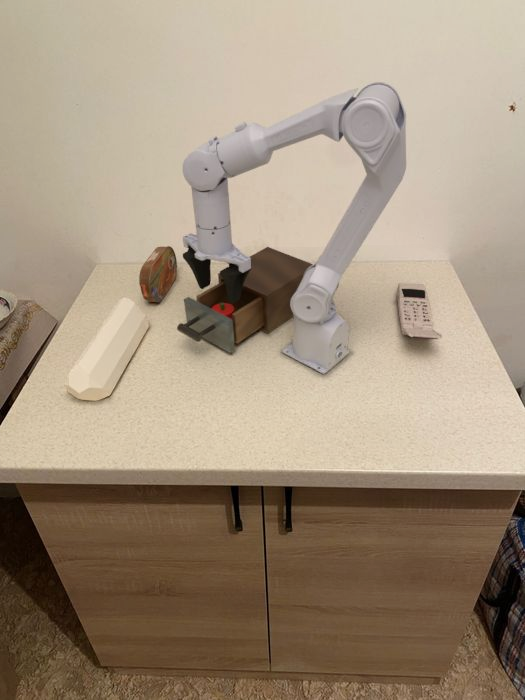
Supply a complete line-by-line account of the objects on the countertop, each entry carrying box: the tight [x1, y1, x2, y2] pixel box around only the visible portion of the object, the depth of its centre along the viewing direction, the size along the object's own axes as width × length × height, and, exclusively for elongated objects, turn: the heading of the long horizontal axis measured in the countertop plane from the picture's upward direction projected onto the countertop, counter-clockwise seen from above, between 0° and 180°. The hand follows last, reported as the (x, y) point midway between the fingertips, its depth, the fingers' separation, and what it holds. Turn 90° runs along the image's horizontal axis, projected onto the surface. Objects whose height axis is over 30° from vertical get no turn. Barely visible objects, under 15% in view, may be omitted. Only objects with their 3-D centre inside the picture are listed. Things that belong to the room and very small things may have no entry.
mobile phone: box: [396, 282, 443, 340], centre depth 96 cm, size 6×6×25 cm
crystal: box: [63, 296, 150, 402], centre depth 89 cm, size 7×7×24 cm
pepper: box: [212, 303, 234, 319], centre depth 93 cm, size 4×4×5 cm
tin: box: [138, 245, 178, 303], centre depth 107 cm, size 15×3×8 cm, turn 168°
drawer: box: [176, 281, 265, 354], centre depth 94 cm, size 18×11×7 cm, turn 138°
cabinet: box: [217, 246, 314, 335], centre depth 101 cm, size 15×13×9 cm
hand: (219, 293), depth 90 cm, fingers open, 7 cm apart
